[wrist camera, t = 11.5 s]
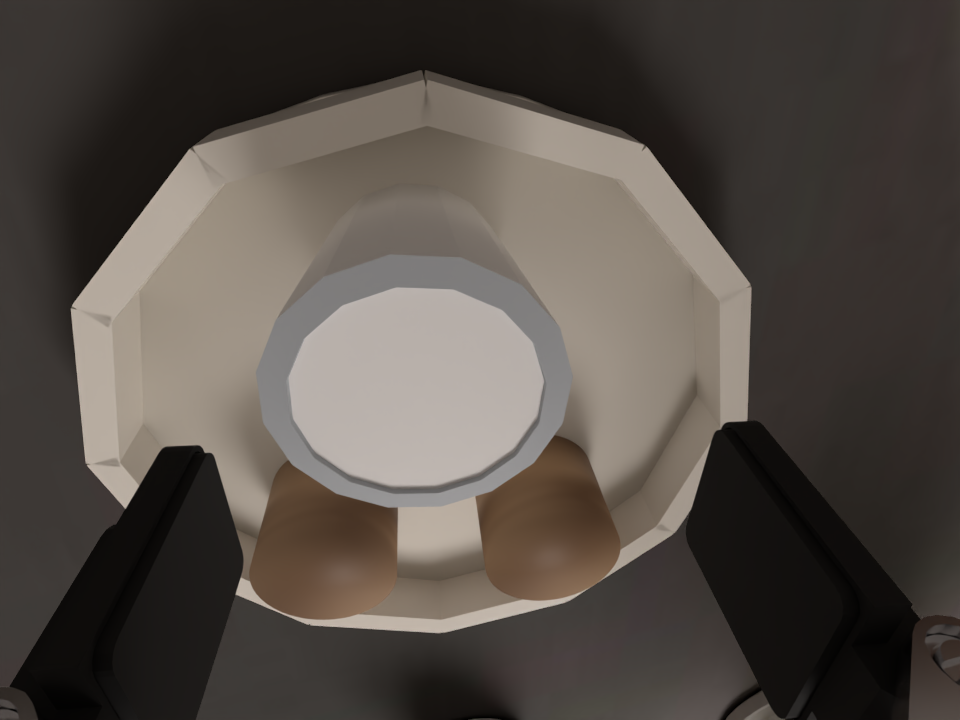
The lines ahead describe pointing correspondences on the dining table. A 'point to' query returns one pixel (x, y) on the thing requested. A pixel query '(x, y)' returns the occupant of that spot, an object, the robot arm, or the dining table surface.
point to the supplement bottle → (485, 719)
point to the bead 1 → (323, 550)
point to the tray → (529, 240)
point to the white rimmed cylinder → (413, 357)
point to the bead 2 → (548, 527)
